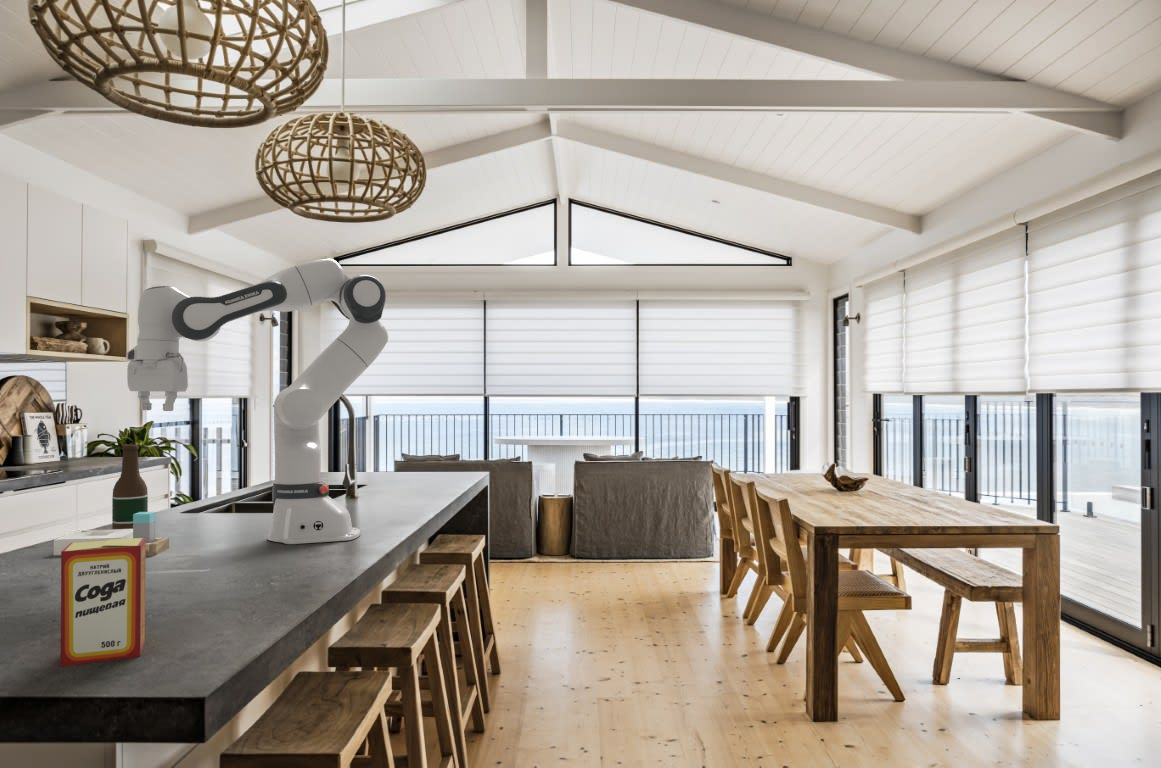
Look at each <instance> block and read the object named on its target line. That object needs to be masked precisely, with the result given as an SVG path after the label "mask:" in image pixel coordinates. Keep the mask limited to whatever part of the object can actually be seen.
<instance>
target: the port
mask: <svg viewBox="0 0 1161 768" xmlns="http://www.w3.org/2000/svg"><path fill="white" fill-rule="evenodd" d="M131 538H133V529H112V528H111V529H81V530H78V529H77V531H73V532H71V533H68V534H66V535H63V536H60V537H57V538H55V539H53V556H61V551H62V550H63V549H65V548H66V547H67V546H68V545H69V544H70V543H78V542H93V541H107V540H108V539H131Z"/></svg>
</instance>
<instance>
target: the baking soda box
mask: <svg viewBox="0 0 1161 768" xmlns="http://www.w3.org/2000/svg"><path fill="white" fill-rule="evenodd" d="M146 558H147V556H146V538H131V539H108V540H107V541H93V542H78V543H70V544H69V545H68V546H67V547H66V548H65V549H63V550H62V551H61V555H60V661H59V662H60V665H59V666H60V667H65V666H67V667H68V666H73V665H81V664H91V663H96V662H97V663H99V662H107V661H114V660H121V659H123V660H124V659H129V658H138V657H141V655H142V653H143V650H144V647H145V645H146V561H147V560H146Z"/></svg>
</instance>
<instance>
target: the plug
mask: <svg viewBox="0 0 1161 768" xmlns="http://www.w3.org/2000/svg"><path fill="white" fill-rule="evenodd" d="M133 538H146V543H153V542H155V538H156V511H148V512H138V513H136V514H133Z"/></svg>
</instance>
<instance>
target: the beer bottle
mask: <svg viewBox="0 0 1161 768" xmlns="http://www.w3.org/2000/svg"><path fill="white" fill-rule="evenodd" d="M139 447H140V446H139V445H138V444H135V443H134V444H133V443H132V444H131V443H130V444H123V445H122V447H121V450H122V461H121V462H122V463H121V472H120V476H119V478H118V479H117V480H116V482H115V484H114V486H113V488H112V495H111V497H112V499H111V500H112V501H111V503H112V508H111V509H112V510H111V511H112V513H111V515H112V516H111V517H112V522H111V525H112V526H111V529H133V514H136V513H138V512H149V511H148V510H149V508H148V505H149V504H148V502H149V501H148V500H149V499H148V498H149V496H148V495H149V494H148V487H147V484H146V482H145V480H144V479H143V478H142V476H141V474H140V468H139V467H140V466H139V464H140V463H139V452H138V450H139V449H140V448H139Z"/></svg>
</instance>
